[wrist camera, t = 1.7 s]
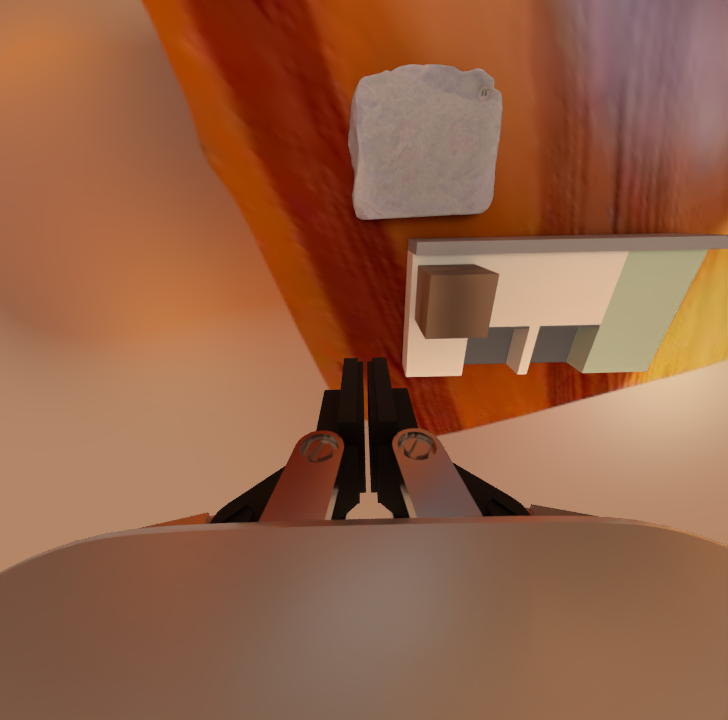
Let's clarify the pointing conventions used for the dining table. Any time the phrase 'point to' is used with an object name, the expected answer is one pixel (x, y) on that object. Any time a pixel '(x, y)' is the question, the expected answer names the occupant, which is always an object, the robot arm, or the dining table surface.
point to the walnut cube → (454, 300)
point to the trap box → (561, 299)
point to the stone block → (424, 142)
